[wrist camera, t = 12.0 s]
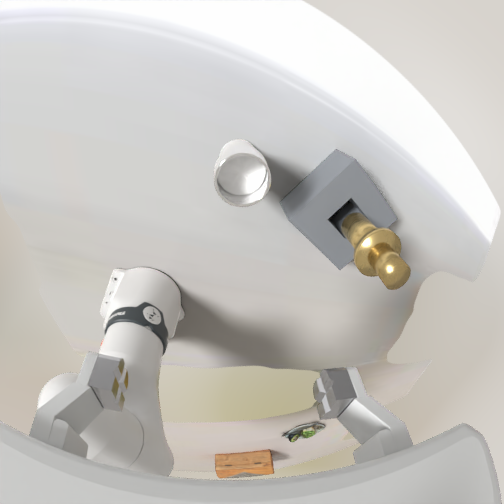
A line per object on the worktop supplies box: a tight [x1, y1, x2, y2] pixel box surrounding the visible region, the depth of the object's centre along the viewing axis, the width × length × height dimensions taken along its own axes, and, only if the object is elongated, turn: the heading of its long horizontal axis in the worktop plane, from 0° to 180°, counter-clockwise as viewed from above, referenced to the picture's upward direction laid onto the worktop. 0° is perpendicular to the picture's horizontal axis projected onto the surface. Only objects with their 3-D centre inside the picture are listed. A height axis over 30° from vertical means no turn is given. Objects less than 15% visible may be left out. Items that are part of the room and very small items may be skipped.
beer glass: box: [214, 139, 271, 207], centre depth 37 cm, size 7×7×15 cm
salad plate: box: [282, 422, 325, 442], centre depth 101 cm, size 19×18×5 cm
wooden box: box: [215, 450, 274, 478], centre depth 114 cm, size 30×16×14 cm, turn 98°
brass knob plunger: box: [341, 212, 410, 290], centre depth 34 cm, size 7×7×14 cm
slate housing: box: [280, 149, 398, 270], centre depth 45 cm, size 14×14×8 cm
